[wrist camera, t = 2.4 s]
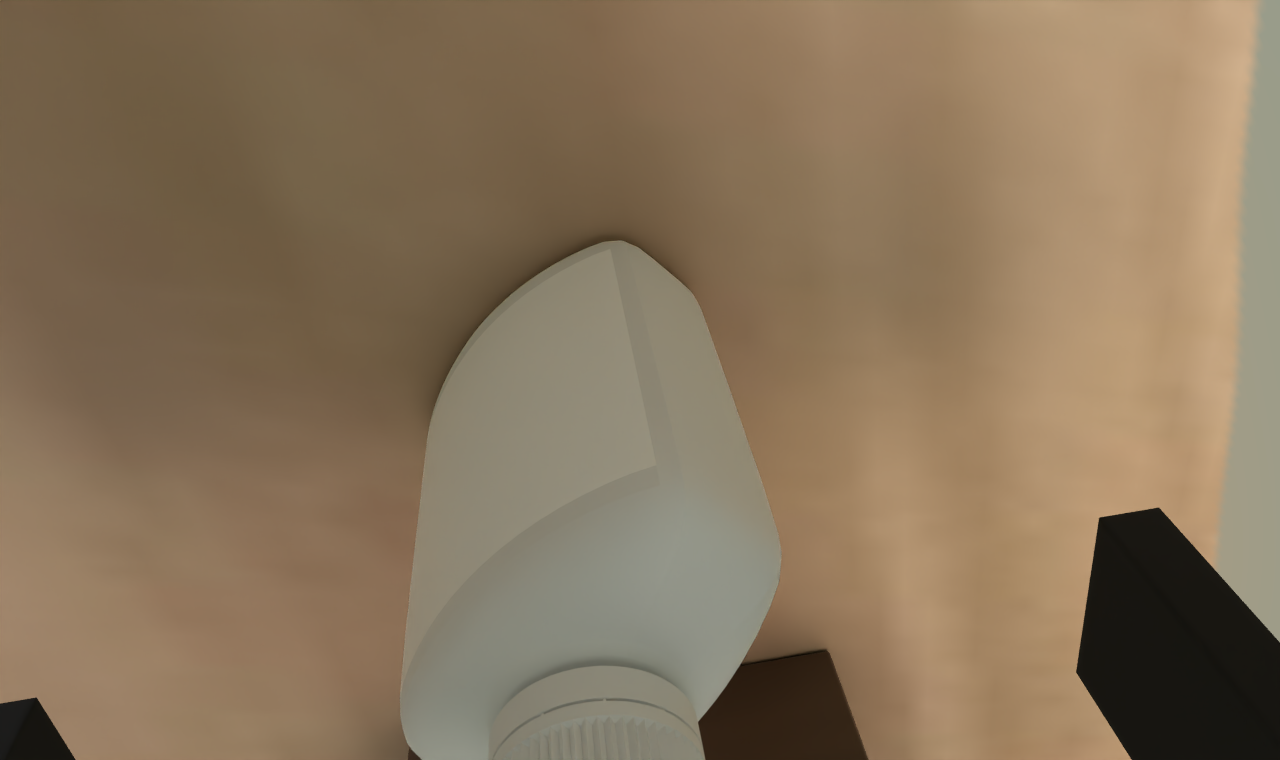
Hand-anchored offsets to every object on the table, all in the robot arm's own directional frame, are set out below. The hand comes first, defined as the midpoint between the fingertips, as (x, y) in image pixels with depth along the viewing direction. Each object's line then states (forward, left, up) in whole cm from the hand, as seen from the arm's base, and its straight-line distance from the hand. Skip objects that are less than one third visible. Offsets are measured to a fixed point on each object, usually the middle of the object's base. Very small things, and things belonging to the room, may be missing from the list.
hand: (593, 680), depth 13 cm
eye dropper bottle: (0, 0, -8) cm, 8 cm away
